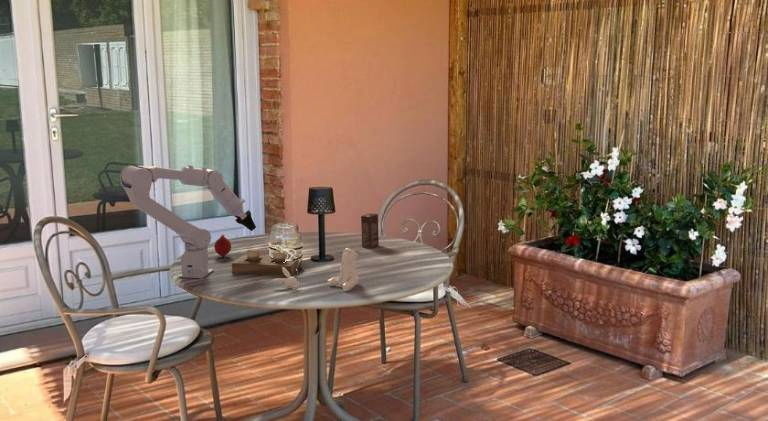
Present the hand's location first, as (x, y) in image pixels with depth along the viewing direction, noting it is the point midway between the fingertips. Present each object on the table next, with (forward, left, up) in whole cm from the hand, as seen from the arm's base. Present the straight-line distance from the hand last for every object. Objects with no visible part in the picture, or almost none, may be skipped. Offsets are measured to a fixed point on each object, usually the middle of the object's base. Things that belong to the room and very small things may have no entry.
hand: (249, 225), depth 266 cm
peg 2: (-8, -13, -10) cm, 18 cm away
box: (+31, -36, -13) cm, 49 cm away
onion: (+6, +12, -13) cm, 19 cm away
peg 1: (-8, -4, -10) cm, 14 cm away
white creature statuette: (-20, -39, -14) cm, 46 cm away
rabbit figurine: (-25, -21, -14) cm, 35 cm away
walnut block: (-8, -9, -13) cm, 18 cm away
